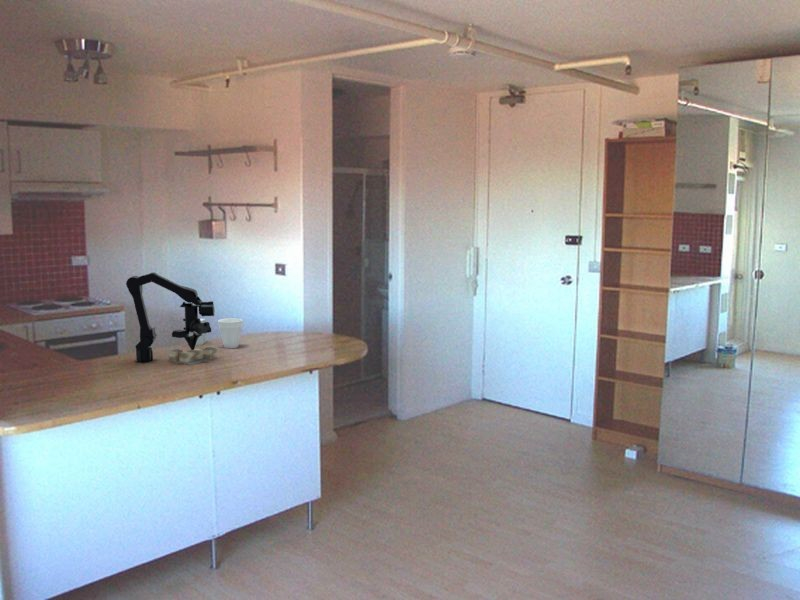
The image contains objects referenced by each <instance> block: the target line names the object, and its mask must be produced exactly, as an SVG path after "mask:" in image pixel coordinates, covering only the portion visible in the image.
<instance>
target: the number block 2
mask: <svg viewBox="0 0 800 600" xmlns="http://www.w3.org/2000/svg"><path fill="white" fill-rule="evenodd" d="M202 349H203V358H204V359H210V360H209V361H211V359H212V360H216V359H219V357H218V348H217V347H210V346H209V347H206V348H202ZM215 358H216V359H215Z"/></svg>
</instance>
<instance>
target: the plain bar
mask: <svg viewBox="0 0 800 600" xmlns="http://www.w3.org/2000/svg"><path fill="white" fill-rule="evenodd" d="M203 349H204V348H201V347H200V348H199V347H198V348H194V350H191V349H190V350H185V351H184V350H183V352H180V353H179V361H181V362H190V361H194V360H199V359H203Z"/></svg>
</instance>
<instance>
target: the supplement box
mask: <svg viewBox="0 0 800 600" xmlns="http://www.w3.org/2000/svg"><path fill="white" fill-rule="evenodd" d="M199 319H200V322H201V323H205V322H207V320H206V318H199ZM206 343H207V333H203V334H202V336H200V337H199V338H198V339H197V342H196V345H195V346H203V345H204V344H206Z"/></svg>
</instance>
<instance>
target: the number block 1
mask: <svg viewBox="0 0 800 600" xmlns="http://www.w3.org/2000/svg"><path fill="white" fill-rule="evenodd" d="M180 352H184V350H183V349H177V348H175V349H171V350H168V361H170V362H173V361H174V362H173V363H178V362H177V361H179V353H180Z"/></svg>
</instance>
